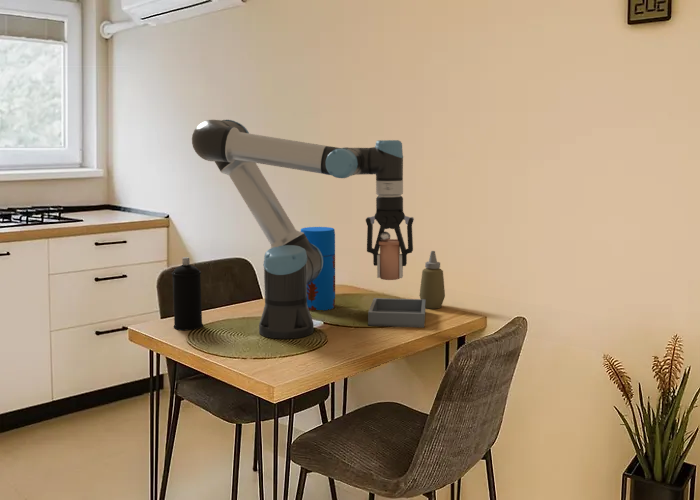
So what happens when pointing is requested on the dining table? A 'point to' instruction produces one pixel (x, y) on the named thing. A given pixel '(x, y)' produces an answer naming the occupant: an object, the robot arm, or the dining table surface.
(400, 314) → the tray
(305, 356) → the dining table surface
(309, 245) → the robot arm
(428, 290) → the squeeze bottle
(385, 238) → the ball
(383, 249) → the shaker
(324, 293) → the thermos
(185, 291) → the aerosol can
